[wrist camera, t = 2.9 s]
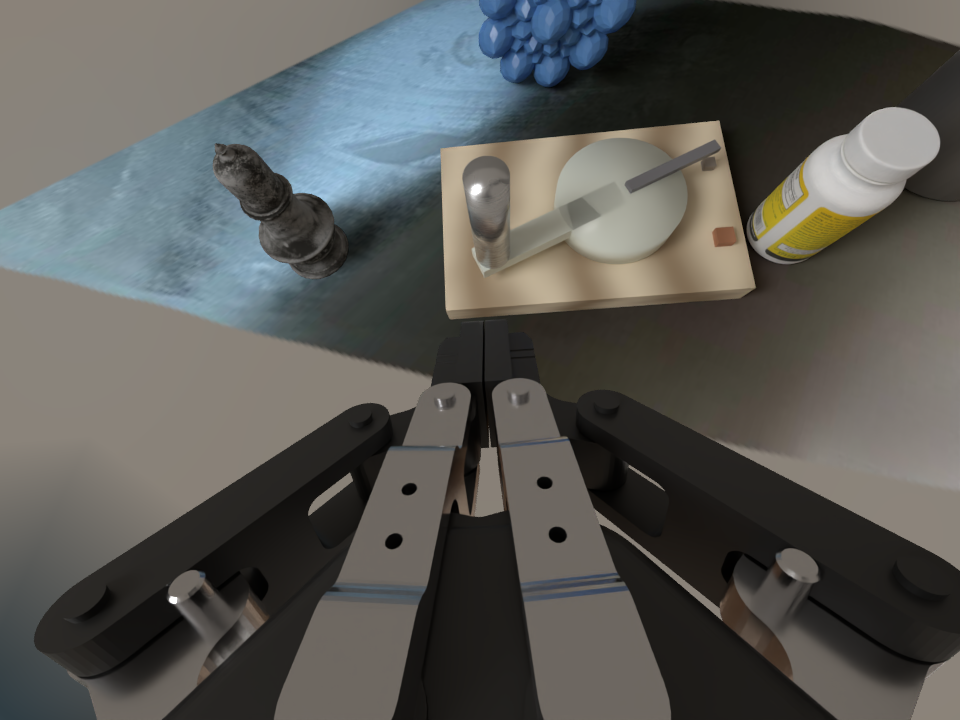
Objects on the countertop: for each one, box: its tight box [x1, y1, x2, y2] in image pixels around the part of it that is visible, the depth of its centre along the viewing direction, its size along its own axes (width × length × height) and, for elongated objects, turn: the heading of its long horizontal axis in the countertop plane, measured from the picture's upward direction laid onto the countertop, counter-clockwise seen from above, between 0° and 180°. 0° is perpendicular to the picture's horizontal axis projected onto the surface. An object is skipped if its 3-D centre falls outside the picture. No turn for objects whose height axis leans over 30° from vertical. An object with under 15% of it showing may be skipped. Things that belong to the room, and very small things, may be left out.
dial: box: [462, 138, 721, 278], centre depth 25 cm, size 19×9×10 cm, turn 115°
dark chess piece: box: [213, 143, 348, 279], centre depth 28 cm, size 6×6×12 cm
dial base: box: [441, 121, 756, 319], centre depth 31 cm, size 22×14×3 cm, turn 93°
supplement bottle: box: [746, 107, 940, 264], centre depth 26 cm, size 5×5×10 cm
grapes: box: [479, 0, 636, 87], centre depth 30 cm, size 12×7×12 cm, turn 82°
